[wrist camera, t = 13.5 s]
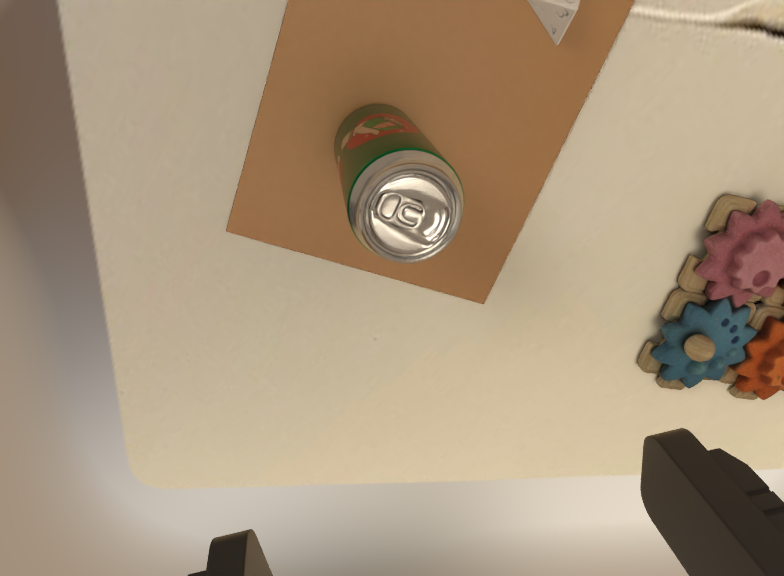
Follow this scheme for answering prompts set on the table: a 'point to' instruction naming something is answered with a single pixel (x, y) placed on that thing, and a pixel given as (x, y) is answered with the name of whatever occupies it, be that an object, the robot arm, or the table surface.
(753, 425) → the table surface
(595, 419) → the table surface
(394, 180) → the soda can
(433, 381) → the table surface
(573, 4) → the tetrahedral die
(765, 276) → the gear puzzle
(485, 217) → the kraft paper
